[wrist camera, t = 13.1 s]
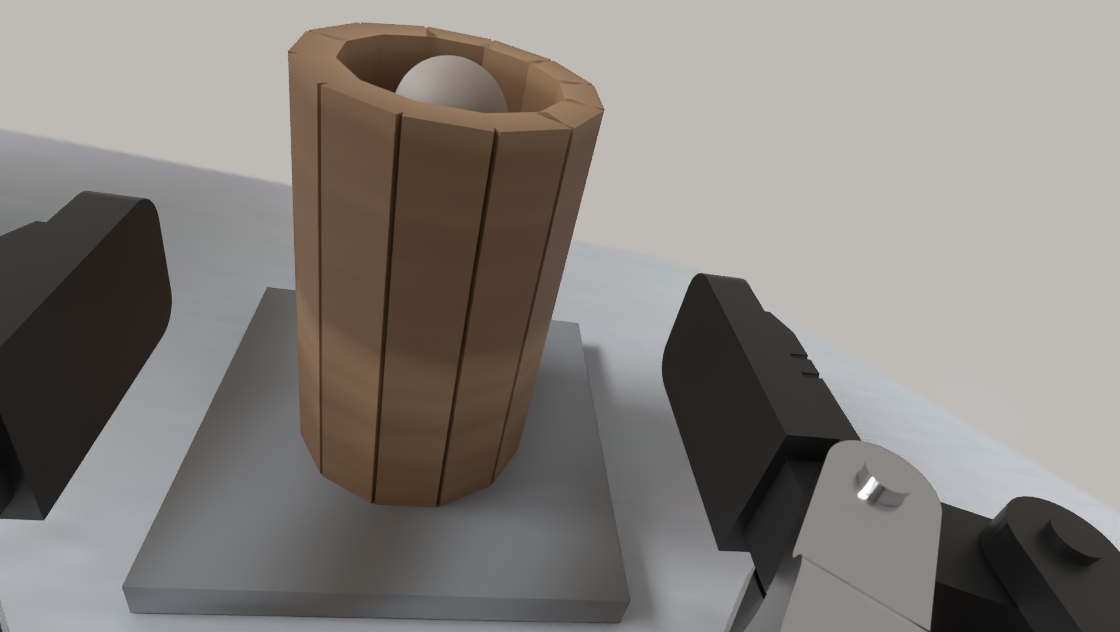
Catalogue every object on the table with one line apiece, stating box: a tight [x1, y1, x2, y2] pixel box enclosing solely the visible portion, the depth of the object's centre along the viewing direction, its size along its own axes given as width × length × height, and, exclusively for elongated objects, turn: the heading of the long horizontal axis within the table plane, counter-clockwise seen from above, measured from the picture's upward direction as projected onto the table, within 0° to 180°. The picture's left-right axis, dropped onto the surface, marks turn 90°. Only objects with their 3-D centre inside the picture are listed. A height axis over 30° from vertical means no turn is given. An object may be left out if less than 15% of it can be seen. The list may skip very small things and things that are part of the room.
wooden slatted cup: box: [288, 23, 604, 508], centre depth 16 cm, size 6×6×10 cm
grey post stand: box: [122, 55, 630, 623], centre depth 16 cm, size 11×11×11 cm
